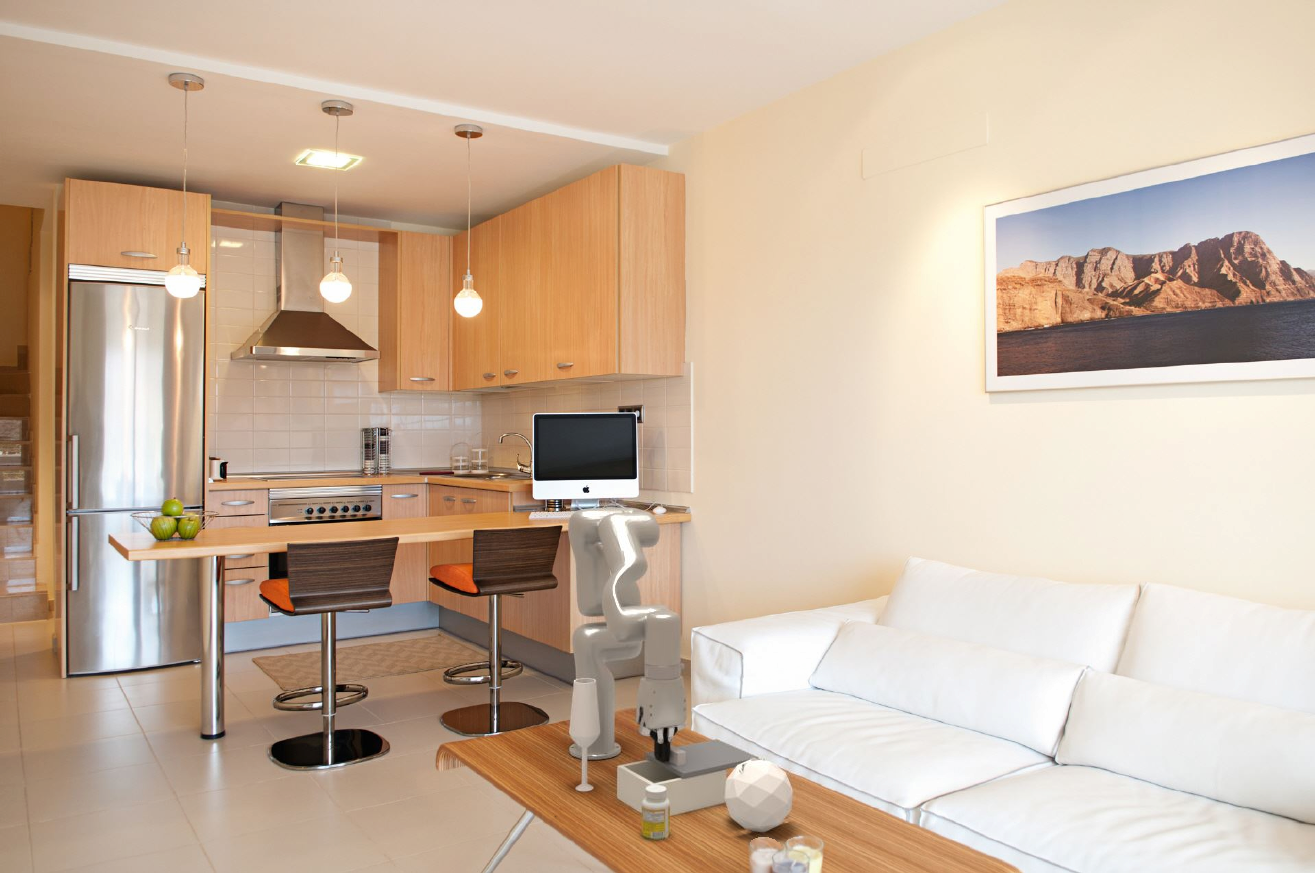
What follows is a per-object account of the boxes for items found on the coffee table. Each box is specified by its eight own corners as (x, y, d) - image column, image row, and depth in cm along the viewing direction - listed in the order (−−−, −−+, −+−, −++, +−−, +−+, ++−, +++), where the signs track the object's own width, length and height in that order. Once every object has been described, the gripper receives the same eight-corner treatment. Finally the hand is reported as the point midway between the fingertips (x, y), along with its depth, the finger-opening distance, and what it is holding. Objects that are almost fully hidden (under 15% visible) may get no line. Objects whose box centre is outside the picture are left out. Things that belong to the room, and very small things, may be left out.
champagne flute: (576, 785, 205) (577, 676, 206) (604, 789, 203) (605, 678, 204) (563, 795, 199) (564, 683, 200) (592, 799, 197) (592, 685, 197)
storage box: (617, 802, 195) (617, 765, 195) (688, 786, 205) (688, 751, 205) (652, 825, 183) (652, 785, 183) (726, 806, 193) (726, 769, 193)
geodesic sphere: (754, 822, 170) (780, 752, 176) (697, 803, 179) (724, 737, 186) (790, 851, 178) (814, 783, 184) (734, 831, 187) (759, 767, 194)
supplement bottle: (657, 847, 173) (657, 795, 173) (635, 839, 176) (635, 788, 176) (675, 838, 177) (675, 787, 177) (654, 831, 180) (654, 781, 180)
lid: (645, 757, 199) (645, 741, 199) (717, 743, 209) (716, 727, 210) (683, 778, 187) (683, 760, 187) (758, 761, 197) (758, 745, 197)
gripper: (682, 663, 200) (682, 749, 200) (622, 672, 193) (621, 761, 192) (702, 670, 194) (702, 759, 194) (640, 679, 186) (640, 771, 186)
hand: (662, 760), depth 193 cm, fingers closed
